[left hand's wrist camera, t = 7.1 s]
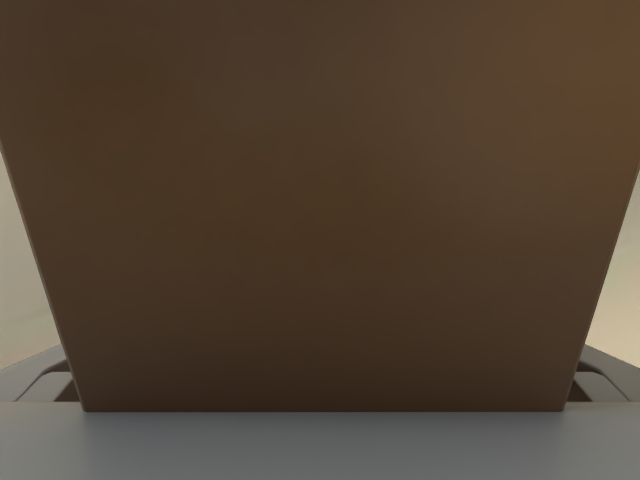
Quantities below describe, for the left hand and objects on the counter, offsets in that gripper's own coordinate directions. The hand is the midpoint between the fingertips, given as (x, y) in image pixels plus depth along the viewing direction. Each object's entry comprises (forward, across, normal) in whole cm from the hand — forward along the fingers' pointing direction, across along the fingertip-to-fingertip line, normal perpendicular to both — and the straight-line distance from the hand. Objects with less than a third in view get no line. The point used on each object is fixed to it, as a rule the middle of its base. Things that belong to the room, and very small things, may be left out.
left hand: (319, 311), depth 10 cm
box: (+8, 0, -8) cm, 11 cm away
